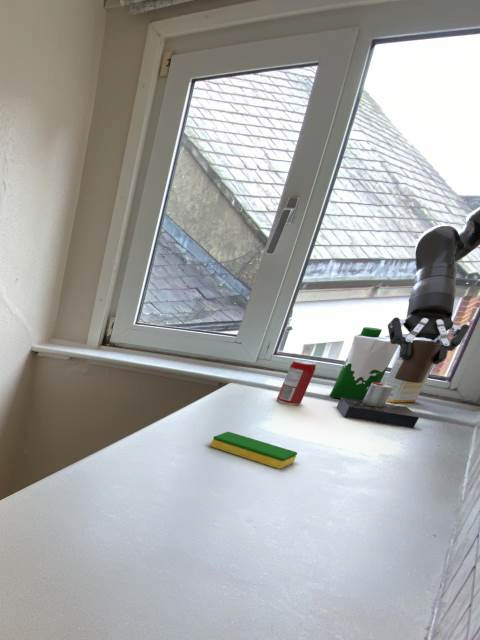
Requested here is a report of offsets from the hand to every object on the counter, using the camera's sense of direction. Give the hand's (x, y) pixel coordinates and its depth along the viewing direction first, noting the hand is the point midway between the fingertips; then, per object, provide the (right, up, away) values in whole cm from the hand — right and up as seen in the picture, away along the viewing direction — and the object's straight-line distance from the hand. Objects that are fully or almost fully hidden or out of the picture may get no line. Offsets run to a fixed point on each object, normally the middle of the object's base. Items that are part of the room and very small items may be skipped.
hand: (421, 360), depth 127 cm
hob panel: (+7, -11, +19) cm, 23 cm away
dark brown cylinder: (+1, -4, +4) cm, 6 cm away
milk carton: (+16, -4, +35) cm, 38 cm away
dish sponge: (-46, -23, -8) cm, 52 cm away
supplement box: (+30, -4, +35) cm, 46 cm away
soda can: (-8, -6, +29) cm, 30 cm away
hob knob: (+7, -8, +19) cm, 22 cm away
